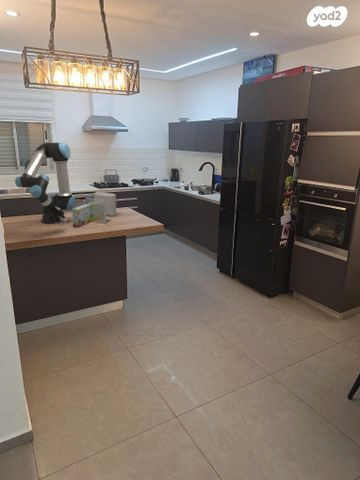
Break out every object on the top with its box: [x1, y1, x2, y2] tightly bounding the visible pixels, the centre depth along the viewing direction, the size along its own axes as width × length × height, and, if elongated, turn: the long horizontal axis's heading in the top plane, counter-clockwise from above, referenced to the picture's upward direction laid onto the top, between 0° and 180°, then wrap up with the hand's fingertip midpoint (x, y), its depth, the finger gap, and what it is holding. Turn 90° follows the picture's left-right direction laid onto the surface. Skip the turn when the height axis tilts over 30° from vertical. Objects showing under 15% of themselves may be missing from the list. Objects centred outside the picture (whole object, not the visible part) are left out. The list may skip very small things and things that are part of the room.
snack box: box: [71, 203, 92, 228], centre depth 270 cm, size 21×6×15 cm, turn 167°
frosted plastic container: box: [85, 197, 111, 224], centre depth 281 cm, size 18×9×20 cm, turn 66°
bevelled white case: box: [93, 191, 117, 217], centre depth 303 cm, size 21×8×20 cm, turn 65°
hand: (65, 219), depth 253 cm, fingers closed
